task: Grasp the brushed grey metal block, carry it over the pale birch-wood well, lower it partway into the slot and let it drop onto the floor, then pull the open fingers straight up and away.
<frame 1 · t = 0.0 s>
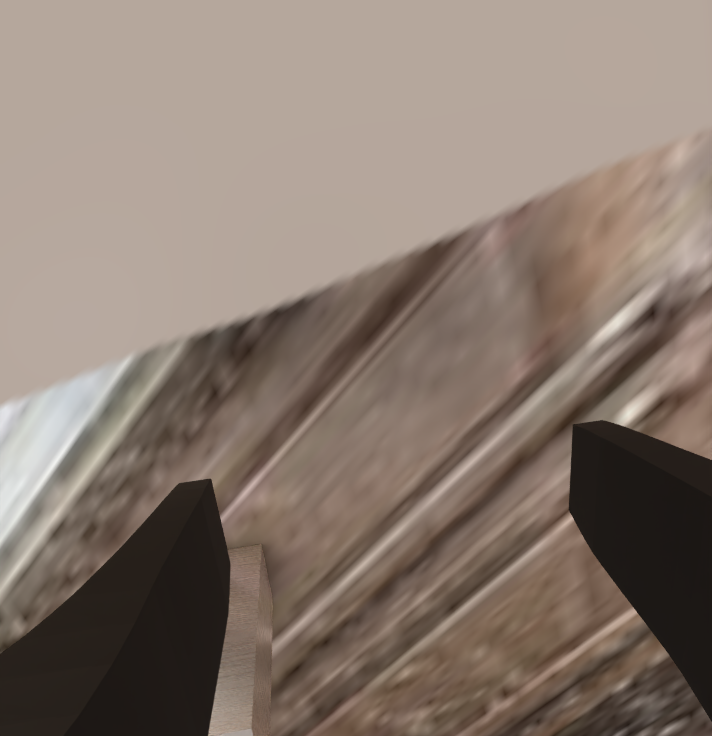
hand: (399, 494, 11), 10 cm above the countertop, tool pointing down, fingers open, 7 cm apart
brushed grey metal block: (207, 582, 24), on the countertop
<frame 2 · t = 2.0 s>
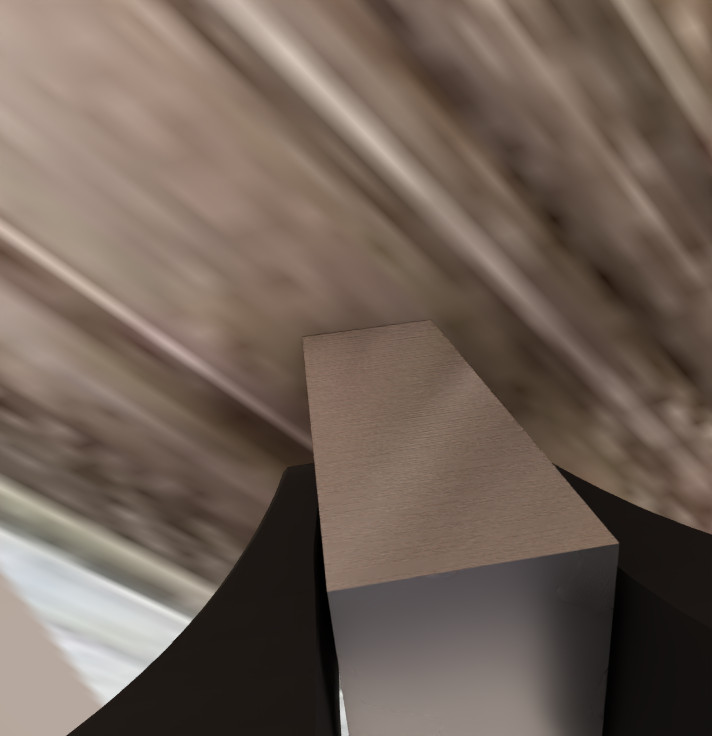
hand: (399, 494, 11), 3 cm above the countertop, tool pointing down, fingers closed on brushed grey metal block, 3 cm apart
brushed grey metal block: (376, 424, 14), on the countertop, touching gripper
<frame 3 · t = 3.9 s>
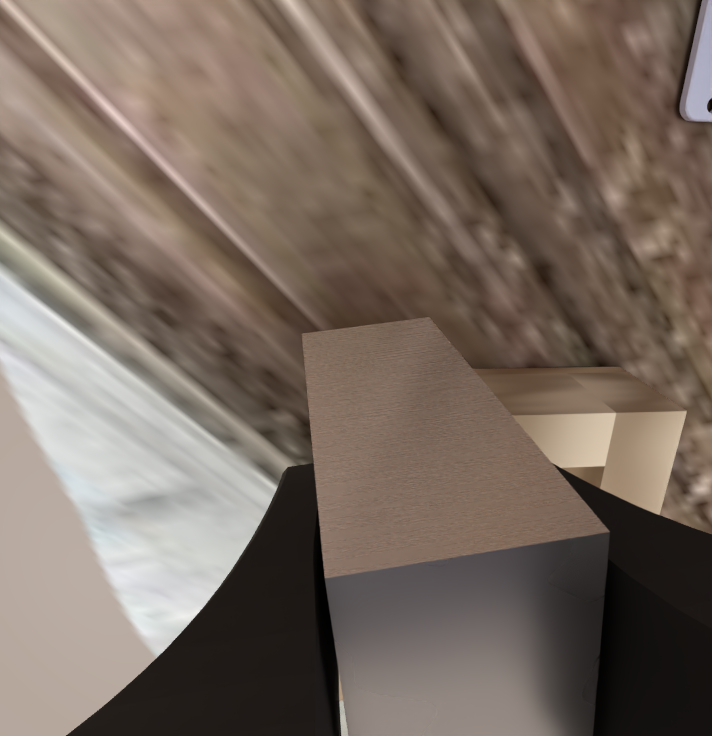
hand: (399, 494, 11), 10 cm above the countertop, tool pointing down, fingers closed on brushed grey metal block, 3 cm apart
brushed grey metal block: (375, 420, 14), point 7 cm above the countertop, touching gripper
well: (459, 500, 24), on the countertop
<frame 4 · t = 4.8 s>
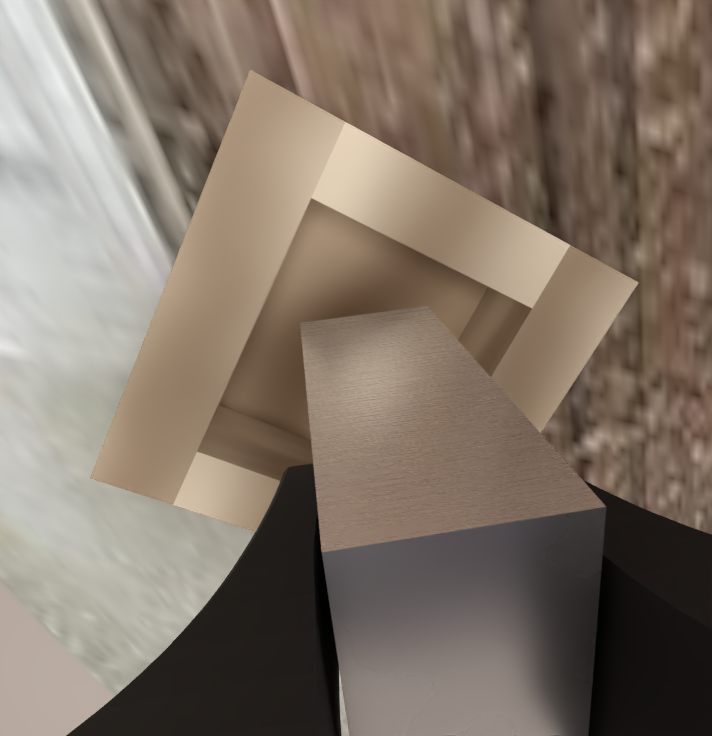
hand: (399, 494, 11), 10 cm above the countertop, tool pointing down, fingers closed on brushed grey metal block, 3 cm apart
brushed grey metal block: (373, 410, 14), point 7 cm above the countertop, touching gripper
well: (347, 337, 20), on the countertop
when the fingers open (7 cm above the countertop, at t = 5.7 s): brushed grey metal block drops 3 cm, resting on well.
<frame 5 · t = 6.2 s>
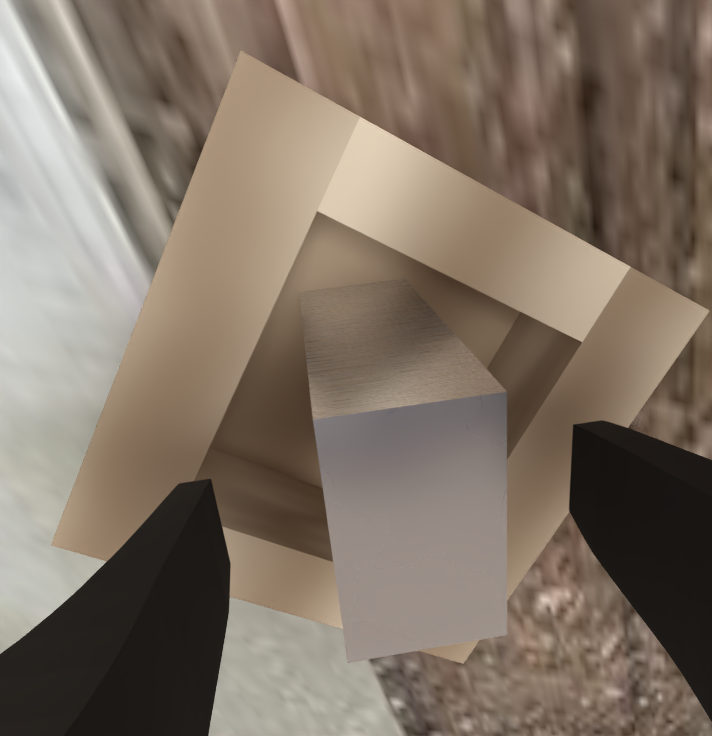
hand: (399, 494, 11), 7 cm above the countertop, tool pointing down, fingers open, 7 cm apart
brushed grey metal block: (360, 367, 17), point 1 cm above the countertop, touching well
well: (357, 367, 18), on the countertop
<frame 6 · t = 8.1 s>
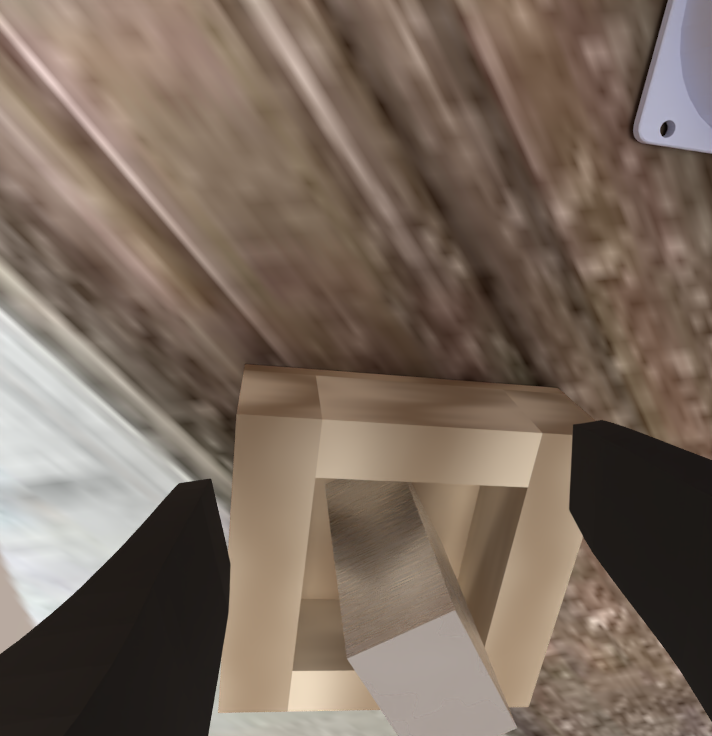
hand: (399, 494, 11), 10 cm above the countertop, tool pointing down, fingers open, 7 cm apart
brushed grey metal block: (386, 515, 23), point 1 cm above the countertop, touching well
well: (385, 512, 23), on the countertop
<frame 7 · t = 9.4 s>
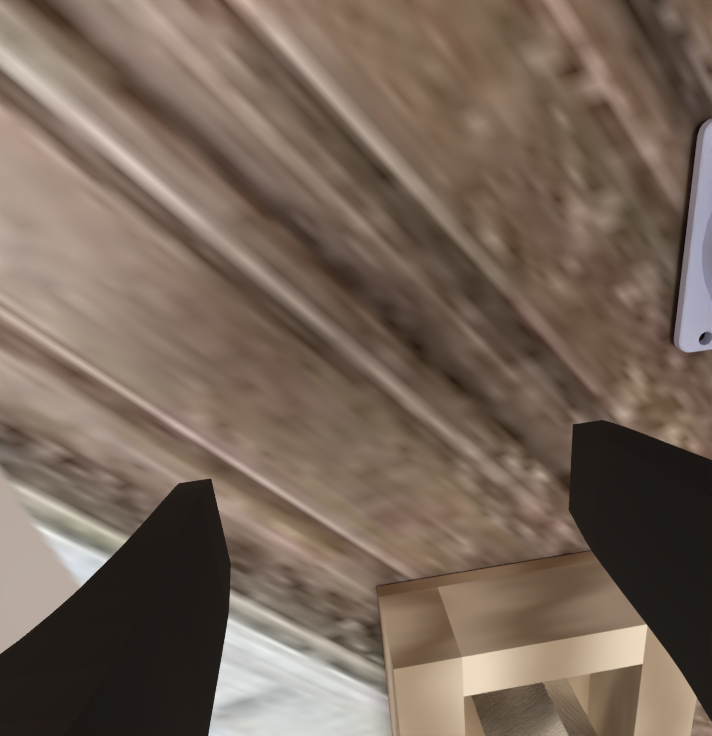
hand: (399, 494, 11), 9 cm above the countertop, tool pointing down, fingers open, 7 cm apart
brushed grey metal block: (516, 672, 26), point 1 cm above the countertop, touching well
well: (513, 665, 27), on the countertop
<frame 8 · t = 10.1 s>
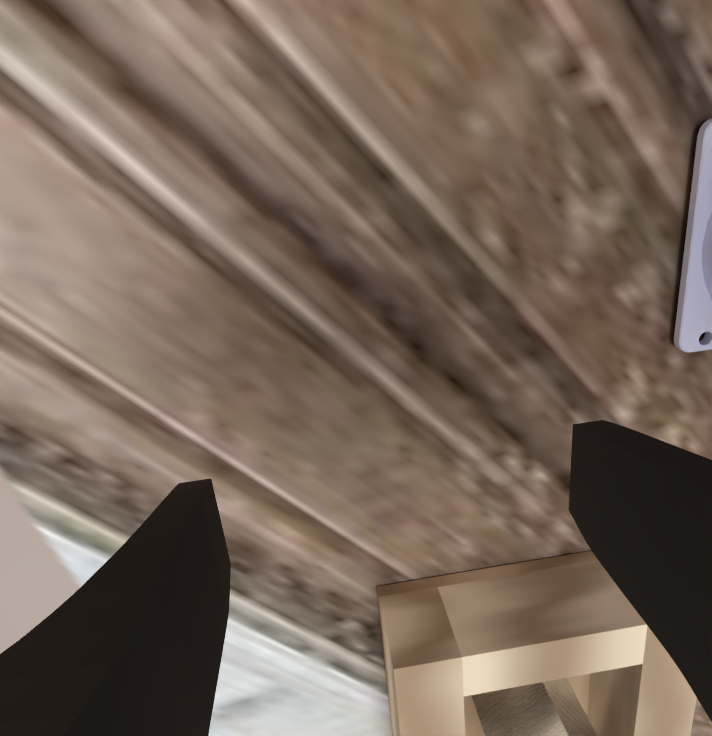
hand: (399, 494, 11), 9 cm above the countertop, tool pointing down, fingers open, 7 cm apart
brushed grey metal block: (516, 672, 26), point 1 cm above the countertop, touching well
well: (513, 665, 27), on the countertop
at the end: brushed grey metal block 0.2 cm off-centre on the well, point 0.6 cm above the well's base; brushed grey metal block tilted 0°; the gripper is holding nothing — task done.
